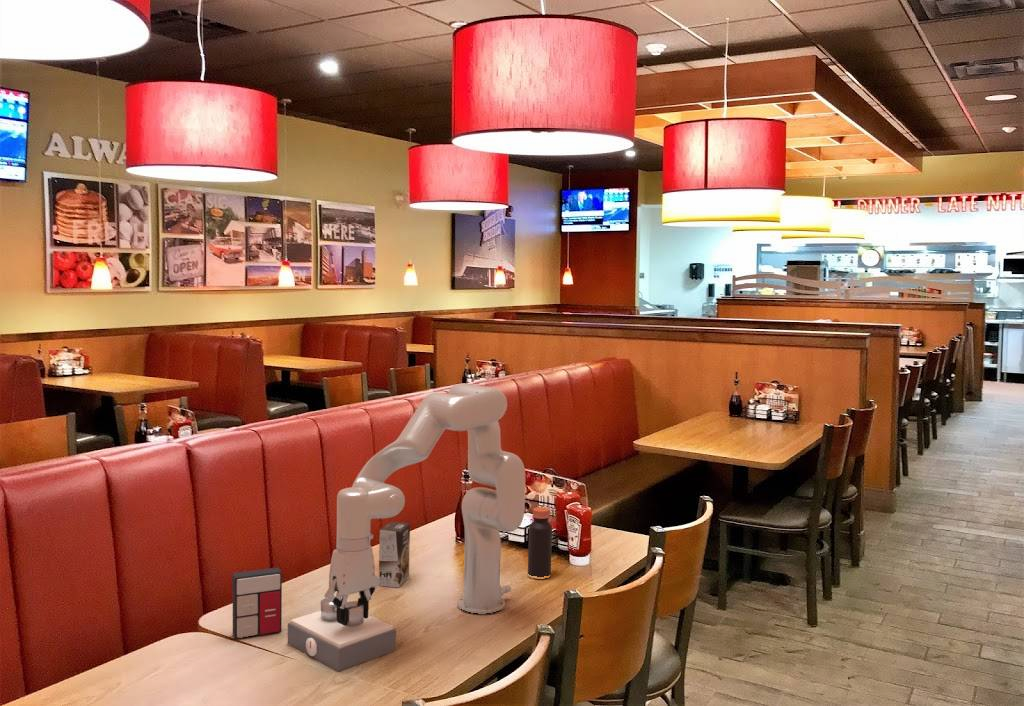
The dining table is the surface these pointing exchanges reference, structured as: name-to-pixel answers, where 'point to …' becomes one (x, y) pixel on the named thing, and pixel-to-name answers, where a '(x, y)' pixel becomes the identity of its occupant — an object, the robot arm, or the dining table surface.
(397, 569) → the coffee box
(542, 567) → the bottle
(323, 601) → the cylinder
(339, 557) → the robot arm
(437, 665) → the dining table surface
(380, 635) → the scale
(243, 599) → the grey red panel
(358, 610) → the cylinder
